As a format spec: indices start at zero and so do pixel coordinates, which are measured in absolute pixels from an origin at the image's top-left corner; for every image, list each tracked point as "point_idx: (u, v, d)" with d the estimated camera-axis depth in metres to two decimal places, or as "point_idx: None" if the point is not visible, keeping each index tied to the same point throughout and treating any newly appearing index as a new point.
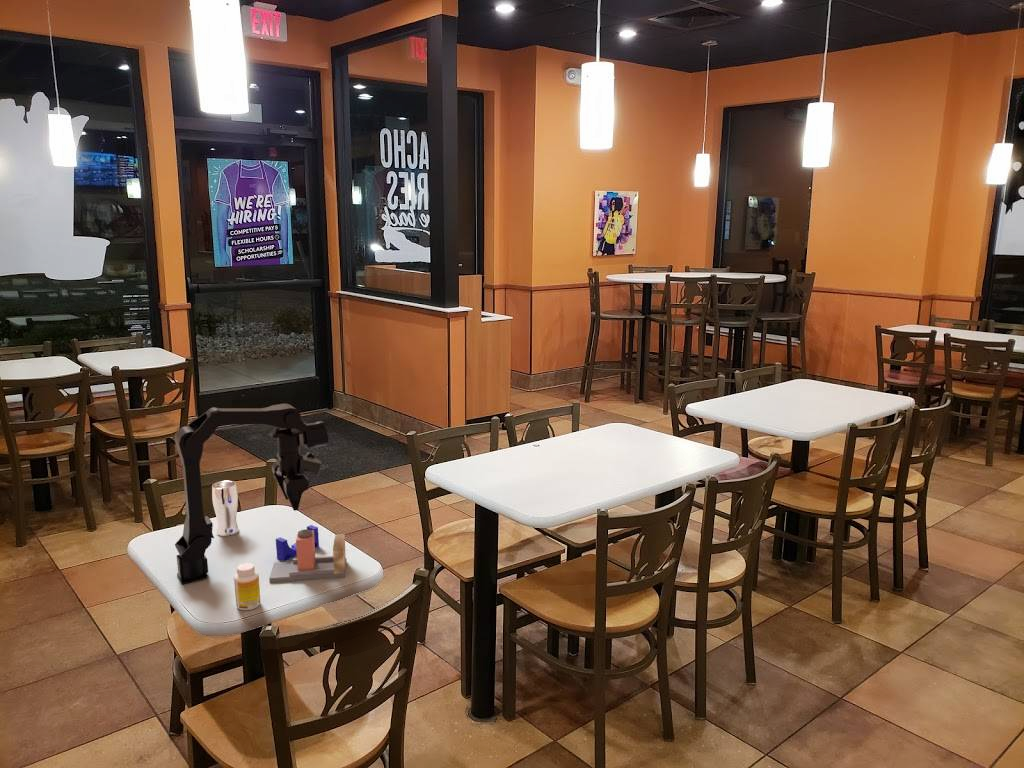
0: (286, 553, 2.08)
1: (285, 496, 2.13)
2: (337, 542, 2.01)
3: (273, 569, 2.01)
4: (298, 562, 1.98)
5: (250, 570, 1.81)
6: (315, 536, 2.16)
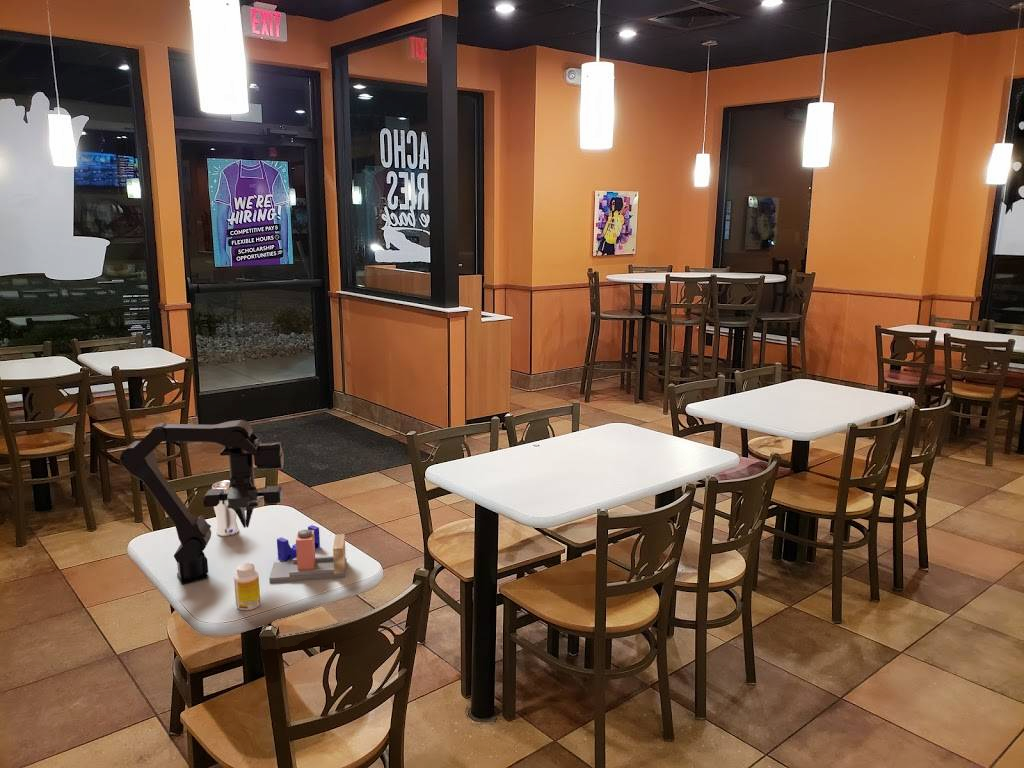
0: (287, 553, 2.08)
1: None
2: (337, 542, 2.01)
3: (273, 569, 2.01)
4: (298, 562, 1.98)
5: (250, 570, 1.81)
6: (316, 536, 2.15)
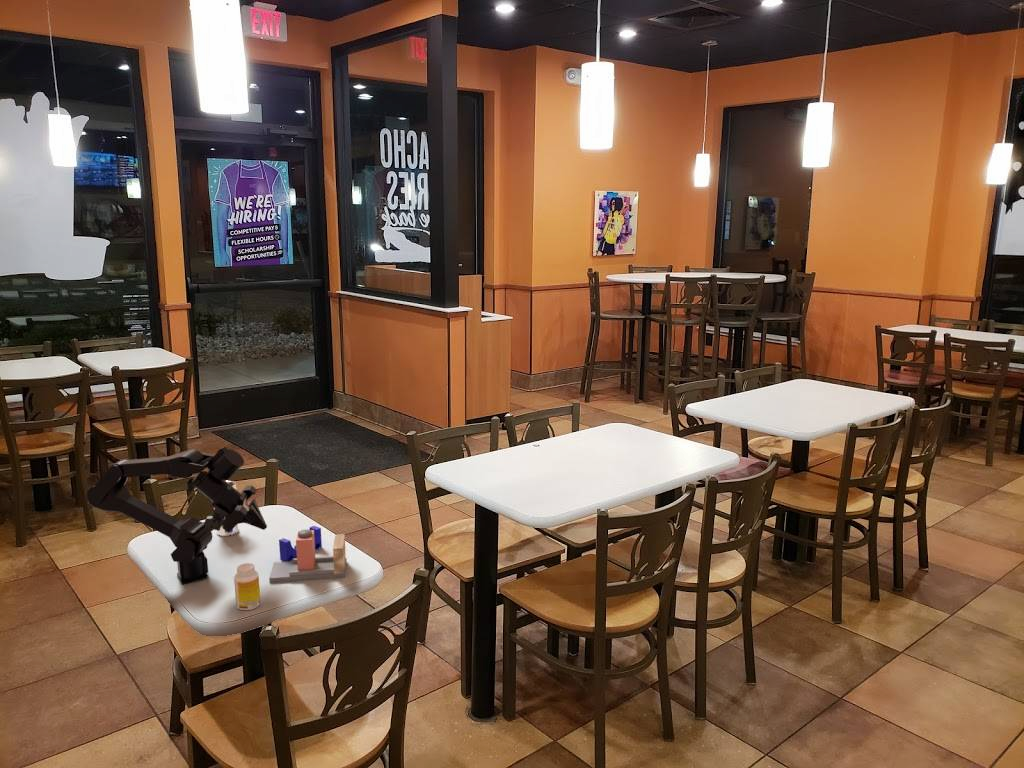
0: (289, 554, 2.08)
1: (264, 523, 1.97)
2: (337, 542, 2.01)
3: (273, 569, 2.01)
4: (298, 562, 1.98)
5: (250, 570, 1.81)
6: (318, 537, 2.15)
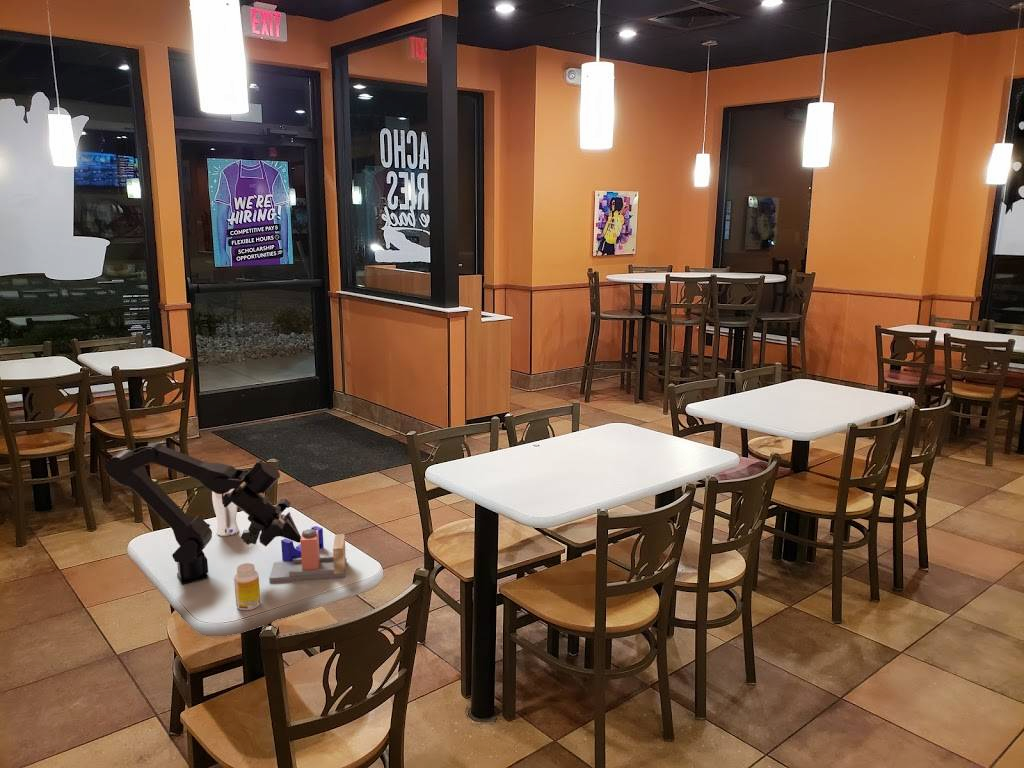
0: (292, 554, 2.07)
1: None
2: (337, 542, 2.01)
3: (273, 569, 2.01)
4: (302, 562, 1.98)
5: (250, 570, 1.81)
6: (320, 537, 2.15)
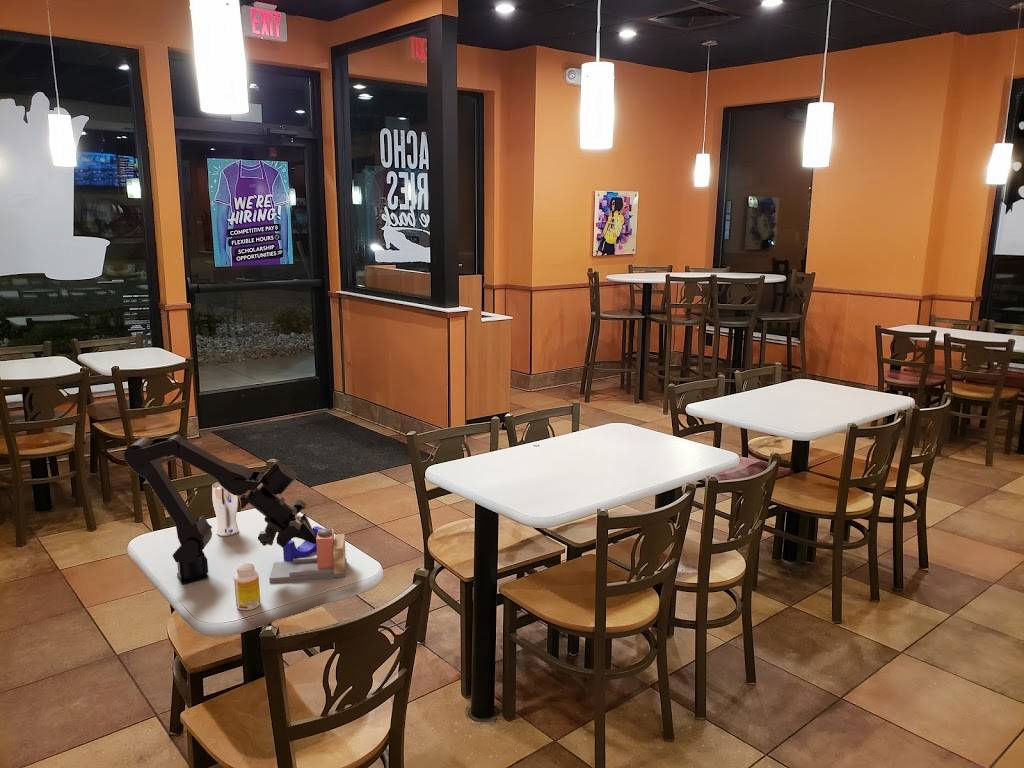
0: (293, 555, 2.07)
1: None
2: (337, 542, 2.01)
3: (273, 569, 2.01)
4: (318, 561, 1.98)
5: (250, 570, 1.81)
6: None
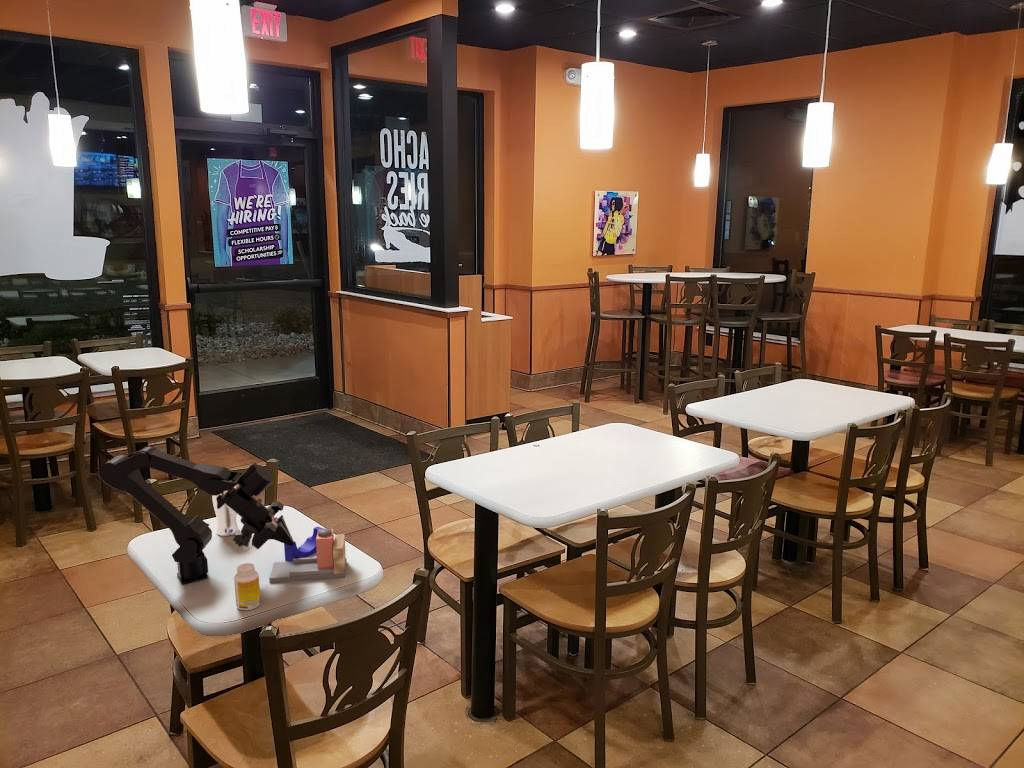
0: (295, 555, 2.07)
1: (291, 540, 1.99)
2: (337, 542, 2.01)
3: (273, 569, 2.01)
4: (318, 561, 1.98)
5: (250, 570, 1.81)
6: None
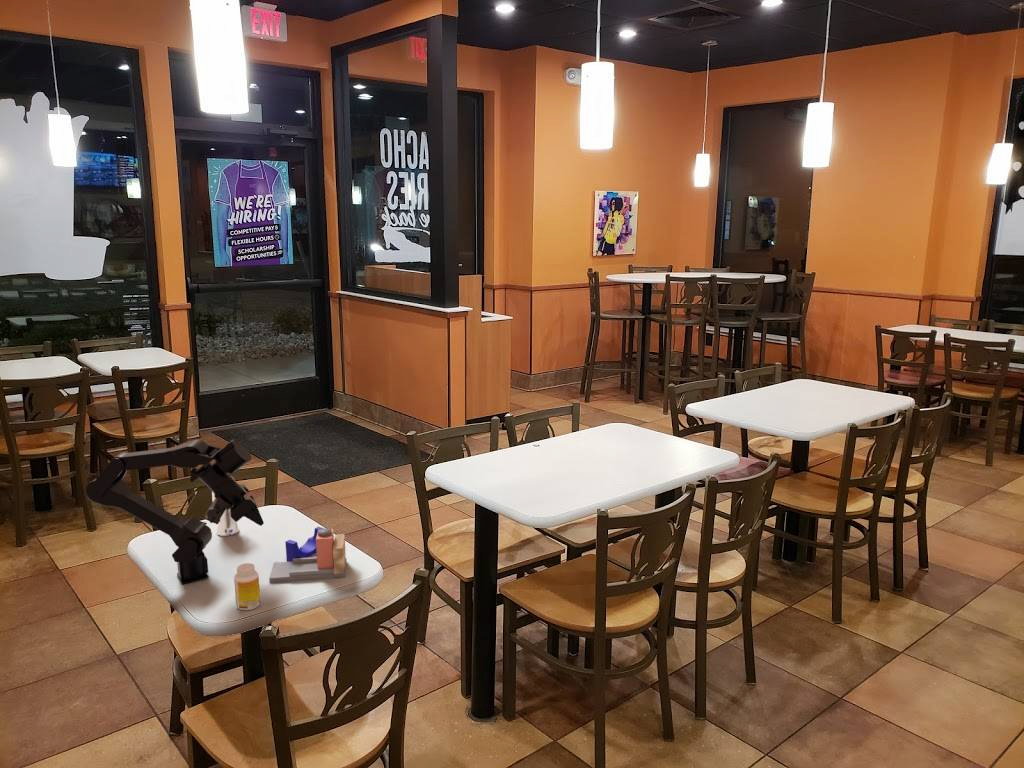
0: (296, 555, 2.07)
1: (261, 519, 1.99)
2: (337, 542, 2.01)
3: (273, 569, 2.01)
4: (318, 561, 1.98)
5: (250, 570, 1.81)
6: None
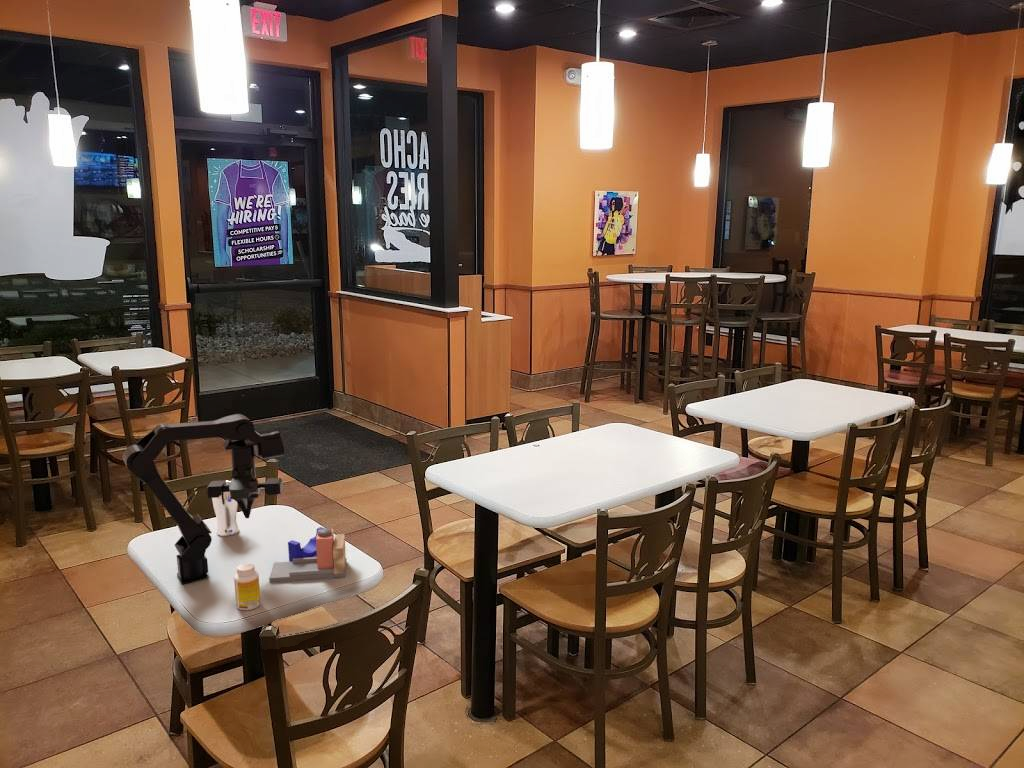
0: (299, 556, 2.06)
1: None
2: (337, 542, 2.01)
3: (273, 569, 2.01)
4: (318, 561, 1.98)
5: (250, 570, 1.81)
6: None
